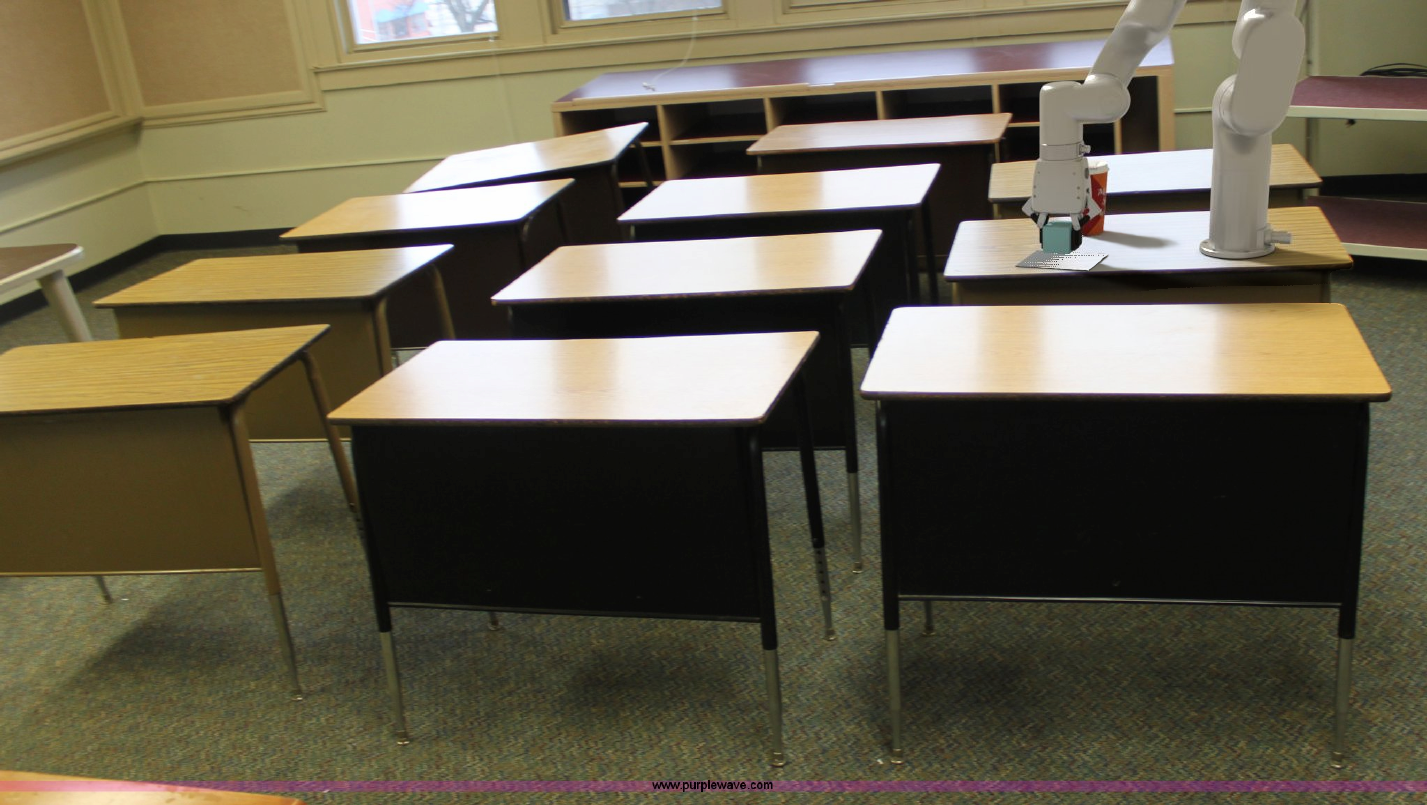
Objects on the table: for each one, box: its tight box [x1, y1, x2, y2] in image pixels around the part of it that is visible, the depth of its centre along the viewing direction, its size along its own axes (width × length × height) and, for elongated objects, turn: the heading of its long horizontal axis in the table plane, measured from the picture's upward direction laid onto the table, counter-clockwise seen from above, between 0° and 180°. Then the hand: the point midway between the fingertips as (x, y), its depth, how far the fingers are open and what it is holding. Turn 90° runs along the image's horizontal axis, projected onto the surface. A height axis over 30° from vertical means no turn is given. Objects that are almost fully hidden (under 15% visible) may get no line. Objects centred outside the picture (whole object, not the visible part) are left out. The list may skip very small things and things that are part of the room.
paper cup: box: [1082, 160, 1110, 237], centre depth 229 cm, size 8×8×14 cm
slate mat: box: [1015, 249, 1104, 268], centre depth 215 cm, size 14×11×1 cm
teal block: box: [1042, 219, 1074, 254], centre depth 213 cm, size 5×5×5 cm
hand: (1060, 247), depth 214 cm, fingers closed on teal block, 4 cm apart
